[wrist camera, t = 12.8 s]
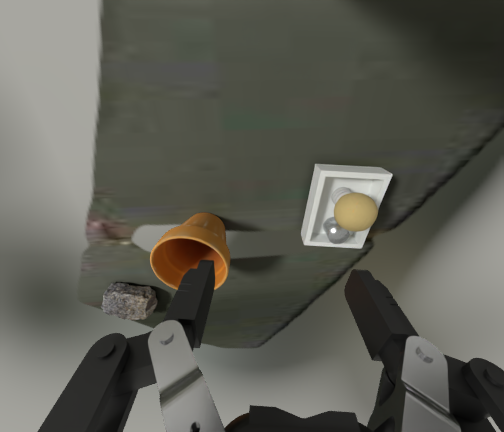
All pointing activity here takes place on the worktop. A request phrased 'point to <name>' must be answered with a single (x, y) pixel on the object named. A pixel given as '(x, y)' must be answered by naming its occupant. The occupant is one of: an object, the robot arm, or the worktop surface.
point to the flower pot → (191, 250)
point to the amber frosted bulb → (353, 209)
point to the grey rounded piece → (335, 231)
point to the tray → (322, 206)
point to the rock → (129, 301)
